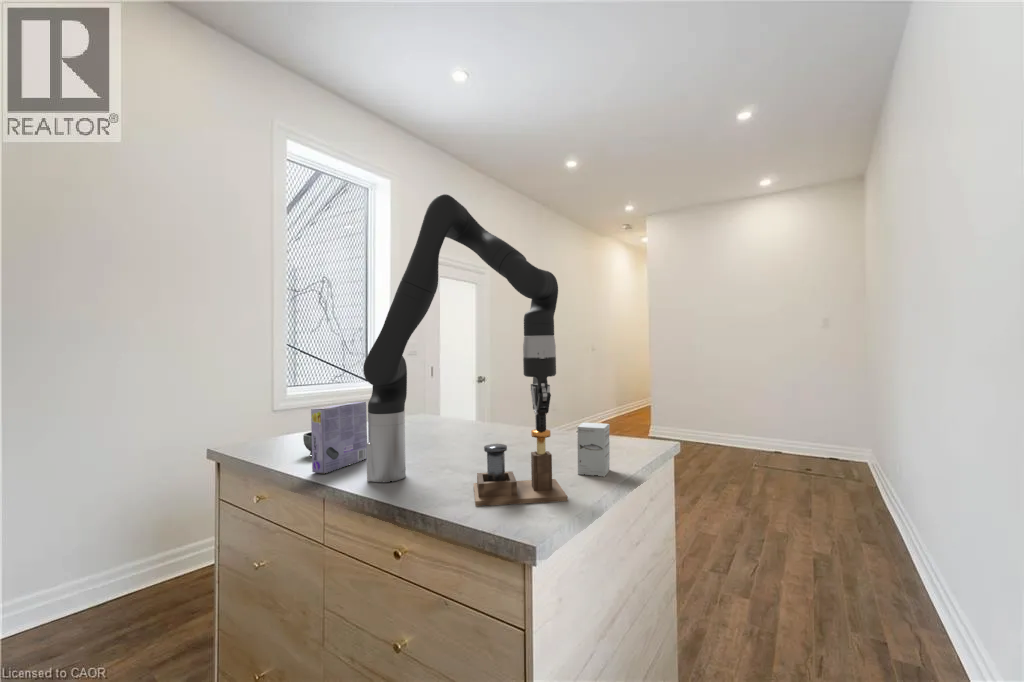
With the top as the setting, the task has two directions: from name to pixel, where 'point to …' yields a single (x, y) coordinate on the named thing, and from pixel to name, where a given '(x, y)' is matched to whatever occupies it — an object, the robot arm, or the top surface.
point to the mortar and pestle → (308, 441)
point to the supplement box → (593, 449)
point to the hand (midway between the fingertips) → (540, 430)
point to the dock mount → (521, 486)
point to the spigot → (495, 461)
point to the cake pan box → (338, 436)
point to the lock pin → (541, 440)
